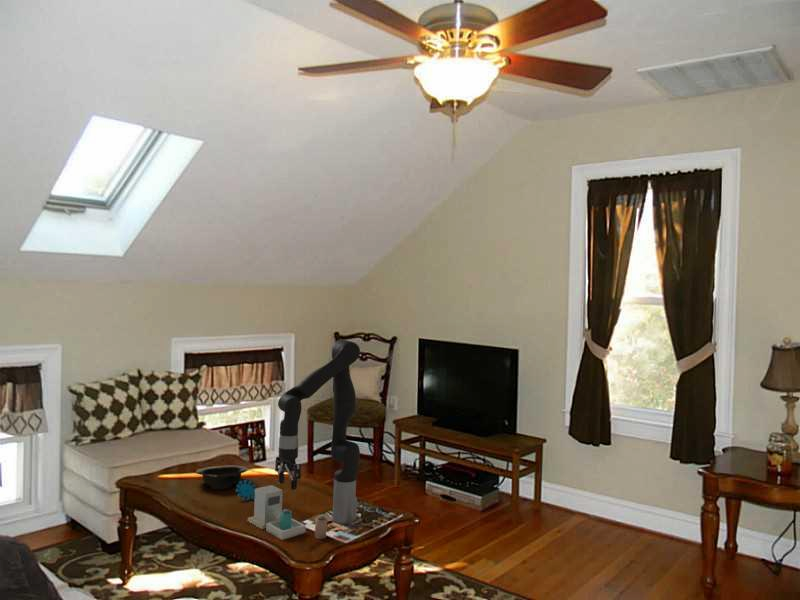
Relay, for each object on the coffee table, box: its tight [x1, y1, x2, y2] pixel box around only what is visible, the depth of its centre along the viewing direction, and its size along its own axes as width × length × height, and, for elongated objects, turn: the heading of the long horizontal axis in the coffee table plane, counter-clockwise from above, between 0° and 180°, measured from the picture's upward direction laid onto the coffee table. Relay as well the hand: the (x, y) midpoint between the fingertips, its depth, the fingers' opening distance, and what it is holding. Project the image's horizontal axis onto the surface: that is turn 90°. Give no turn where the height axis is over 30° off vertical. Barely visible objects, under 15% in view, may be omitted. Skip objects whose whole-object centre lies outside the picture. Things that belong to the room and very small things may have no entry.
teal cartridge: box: [280, 508, 293, 531], centre depth 260 cm, size 4×4×8 cm
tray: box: [265, 518, 307, 541], centre depth 260 cm, size 11×11×3 cm
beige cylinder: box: [314, 515, 328, 540], centre depth 256 cm, size 4×4×8 cm
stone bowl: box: [195, 464, 250, 491], centre depth 314 cm, size 25×25×9 cm
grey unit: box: [247, 484, 283, 530], centre depth 269 cm, size 12×11×14 cm
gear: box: [235, 479, 257, 501], centre depth 297 cm, size 11×6×10 cm
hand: (287, 486), depth 259 cm, fingers open, 8 cm apart
